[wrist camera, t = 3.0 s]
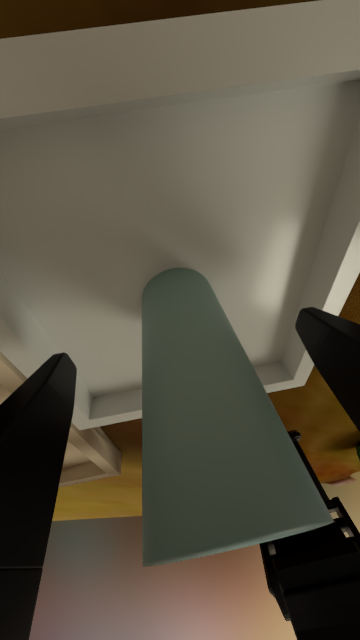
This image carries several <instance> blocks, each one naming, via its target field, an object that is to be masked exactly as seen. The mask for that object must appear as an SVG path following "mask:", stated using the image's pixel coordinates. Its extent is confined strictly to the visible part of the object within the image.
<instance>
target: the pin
mask: <svg viewBox="0 0 360 640" xmlns="http://www.w3.org/2000/svg"><path fill="white" fill-rule="evenodd" d="M142 518H143V566H145V567H146V566H155V565H162V564H167V563H173V562H178V561H183V560H188V559H193V558H198V557H203V556H208V555H212V554H216V553H221V552H226V551H230V550H234V549H239V548H243V547H247V546H251V545H256V544H260V543H264V542H268V541H272V540H276V539H280V538H284V537H287V536H291V535H295V534H299V533H302V532H306V531H309V530H313V529H316V528H319V527H322V526H325V525H328V524H331V523H333V522H334V521H333V519H332V517H331V515H330V513H329V511H328V509H327V507H326V505H325V503H324V501H323V499H322V498H321V496H320V494H319V492H318V490H317V488H316V486H315V484H314V482H313V480H312V478H311V477H310V475H309V473H308V471H307V469H306V467H305V465H304V463H303V461H302V459H301V457H300V456H299V454H298V452H297V450H296V448H295V446H294V444H293V442H292V440H291V438H290V436H289V434H288V433H287V431H286V429H285V427H284V425H283V423H282V421H281V419H280V417H279V415H278V413H277V412H276V410H275V408H274V406H273V404H272V402H271V400H270V398H269V396H268V394H267V392H266V391H265V389H264V387H263V385H262V383H261V381H260V379H259V377H258V375H257V373H256V371H255V369H254V368H253V366H252V364H251V362H250V360H249V358H248V356H247V354H246V352H245V350H244V348H243V347H242V345H241V343H240V341H239V339H238V337H237V335H236V333H235V331H234V329H233V327H232V326H231V324H230V322H229V320H228V318H227V316H226V314H225V312H224V310H223V308H222V306H221V304H220V303H219V301H218V299H217V297H216V295H215V293H214V291H213V289H212V287H211V285H210V283H209V282H208V280H207V279H206V278H205V277H204V276H203V275H202V274H200V273H199V272H197V271H195V270H192V269H188V268H172V269H168V270H165V271H163V272H161V273H159V274H157V275H156V276H154V277H153V278H152V279H151V280H150V281H149V282H148V283H147V285H146V287H145V289H144V291H143V294H142Z"/></svg>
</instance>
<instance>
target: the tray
mask: <svg viewBox="0 0 360 640" xmlns="http://www.w3.org/2000/svg"><path fill="white" fill-rule="evenodd" d="M26 380H27V378H26V377H25V376H24V375H23V374H22V373H21V372H20V371H19V370H18V369H17V368H16V367H15V366H14V365H13V364H12V363H11V362H10V361H9V360H8V359H7V358H6V357H5V356H4V355H3V354H2V353H1V352H0V404H1V403H2V402H3V401H5V400H6V399H7V398H8V397H9V396H10V395H11V394H12V393H13V392H14V391H15V390H16V389H17V388H18V387H19V386H20V385H21V384H22V383H23V382H25V381H26ZM121 460H122V453H121V452H120V451H119V450H118V448H117V447H116V446H115V445H114V444H113V442H112V441H111V440H110V439H109V438H108V437H107V435H106V434H105V433H104V432H103V431H102V429H101V428H100V427H94V428H89V429H84V430H79V429H78V428H77V427H76V426H75V425H74V424H73V423H72V422H71V427H70V432H69V437H68V442H67V447H66V452H65V457H64V462H63V467H62V472H61V477H60V482H59V487H63V486H68V485H73V484H78V483H82V482H87V481H92V480H97V479H101V478H106V477H111V476H116V475H120V474H121Z"/></svg>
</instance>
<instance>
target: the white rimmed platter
mask: <svg viewBox="0 0 360 640" xmlns="http://www.w3.org/2000/svg"><path fill="white" fill-rule="evenodd" d="M172 268H188V269H192V270H195V271H197V272H199V273H200V274H202V275H203V276H204V277H205V278H206V279H207V280H208V282H209V283H210V285H211V287H212V289H213V291H214V293H215V295H216V297H217V299H218V301H219V303H220V304H221V306H222V308H223V310H224V312H225V314H226V316H227V318H228V320H229V322H230V324H231V326H232V327H233V329H234V331H235V333H236V335H237V337H238V339H239V341H240V343H241V345H242V347H243V348H244V350H245V352H246V354H247V356H248V358H249V360H250V362H251V364H252V366H253V368H254V369H255V371H256V373H257V375H258V377H259V379H260V381H261V383H262V385H263V387H264V389H265V391H266V392H267V393H269V392H274V391H279V390H284V389H289V388H294V387H299V386H304V385H305V383H306V381H307V379H308V377H309V375H310V373H311V370H312V368H313V366H314V363H313V361H312V360H311V358H310V356H309V354H308V352H307V350H306V348H305V347H304V345H303V343H302V341H301V339H300V337H299V335H298V333H297V331H296V329H295V323H296V320H297V317H298V314H299V311H300V310H301V309H302V308H307V307H315V308H317V309H320V310H323V311H325V312H328V313H331V314H333V315H336V316H338V315H339V313H340V311H341V309H342V307H343V305H344V303H345V301H346V299H347V297H348V295H349V293H350V291H351V289H352V287H353V285H354V283H355V281H356V279H357V277H358V274H359V272H360V0H319V1H311V2H302V3H294V4H286V5H277V6H269V7H261V8H253V9H244V10H236V11H228V12H219V13H211V14H203V15H195V16H186V17H178V18H170V19H161V20H153V21H145V22H136V23H128V24H120V25H112V26H103V27H95V28H87V29H78V30H70V31H62V32H54V33H45V34H37V35H29V36H20V37H12V38H4V39H0V352H1V353H2V354H3V355H4V356H5V357H6V358H7V359H8V360H9V361H10V362H11V363H12V364H13V365H14V366H15V367H16V368H17V369H18V370H19V371H20V372H21V373H22V374H23V375H24V376H25V377H26V378H27V379H28V378H29V377H30V376H31V375H32V374H33V373H34V372H35V371H36V370H37V369H38V368H39V367H40V366H41V365H42V364H43V363H44V362H46V361H47V360H48V359H49V358H50V357H51V356H52V355H53V354H57V353H62V352H65V353H67V354H68V355H69V357H70V358H71V360H72V361H73V362H74V364H75V365H76V368H77V377H76V389H75V401H74V410H73V416H72V421H71V422H72V423H73V424H74V425H75V426H76V427H77V428H78V429H79V430H84V429H89V428H94V427H99V426H104V425H109V424H114V423H119V422H124V421H129V420H134V419H139V418H142V294H143V291H144V289H145V287H146V285H147V283H148V282H149V281H150V280H151V279H152V278H153V277H154V276H156V275H157V274H159V273H161V272H163V271H165V270H168V269H172Z"/></svg>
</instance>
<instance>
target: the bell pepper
mask: <svg viewBox="0 0 360 640" xmlns="http://www.w3.org/2000/svg"><path fill="white" fill-rule="evenodd" d="M356 450H357V455H358V457H359V460H360V445H359V446H357V447H356Z"/></svg>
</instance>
